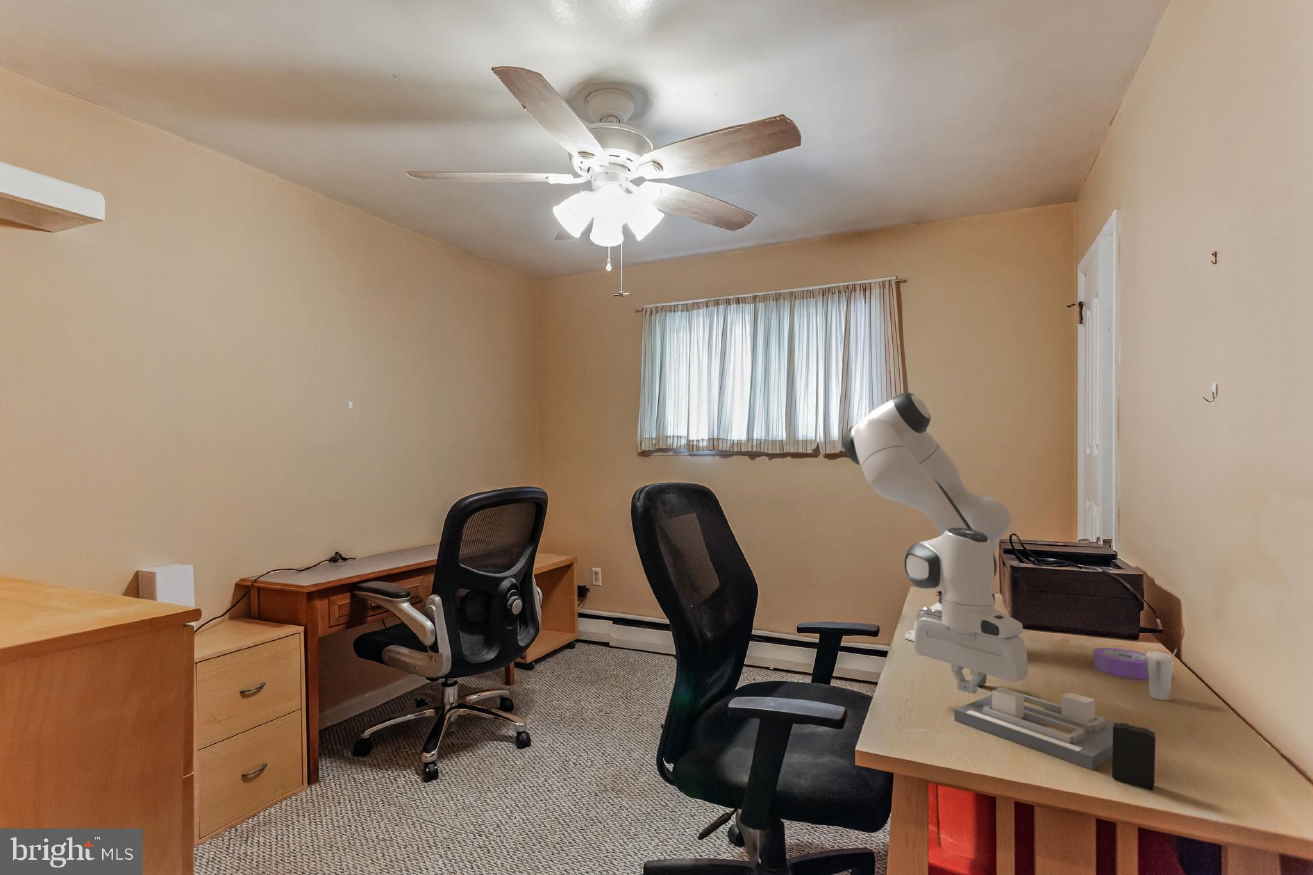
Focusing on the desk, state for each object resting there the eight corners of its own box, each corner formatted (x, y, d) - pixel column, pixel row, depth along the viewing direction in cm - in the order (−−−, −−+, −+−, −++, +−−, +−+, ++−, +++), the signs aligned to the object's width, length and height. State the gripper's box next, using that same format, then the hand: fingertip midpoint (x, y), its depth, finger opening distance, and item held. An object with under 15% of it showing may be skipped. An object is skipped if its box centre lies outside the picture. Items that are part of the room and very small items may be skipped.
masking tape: (1081, 665, 150) (1081, 648, 150) (1119, 661, 153) (1119, 645, 153) (1131, 682, 138) (1131, 664, 138) (1170, 678, 142) (1170, 660, 142)
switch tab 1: (992, 713, 113) (992, 690, 113) (1000, 709, 115) (1000, 687, 115) (1015, 721, 110) (1015, 697, 110) (1023, 717, 112) (1023, 694, 112)
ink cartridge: (1154, 785, 93) (1155, 730, 93) (1154, 791, 91) (1155, 735, 92) (1113, 773, 96) (1114, 720, 96) (1111, 779, 95) (1112, 725, 95)
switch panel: (954, 720, 115) (954, 703, 115) (1004, 700, 126) (1004, 684, 126) (1092, 770, 97) (1092, 750, 97) (1137, 741, 108) (1136, 723, 108)
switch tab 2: (1061, 718, 111) (1061, 695, 111) (1069, 715, 113) (1069, 692, 113) (1087, 726, 108) (1087, 702, 108) (1094, 722, 110) (1094, 699, 110)
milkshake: (1184, 703, 126) (1183, 652, 126) (1153, 700, 127) (1152, 650, 127) (1170, 695, 130) (1170, 645, 131) (1140, 692, 131) (1140, 643, 132)
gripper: (907, 607, 126) (907, 677, 125) (1014, 631, 109) (1014, 713, 108) (925, 603, 129) (925, 672, 129) (1032, 626, 113) (1032, 705, 112)
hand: (967, 691), depth 119 cm, fingers closed
